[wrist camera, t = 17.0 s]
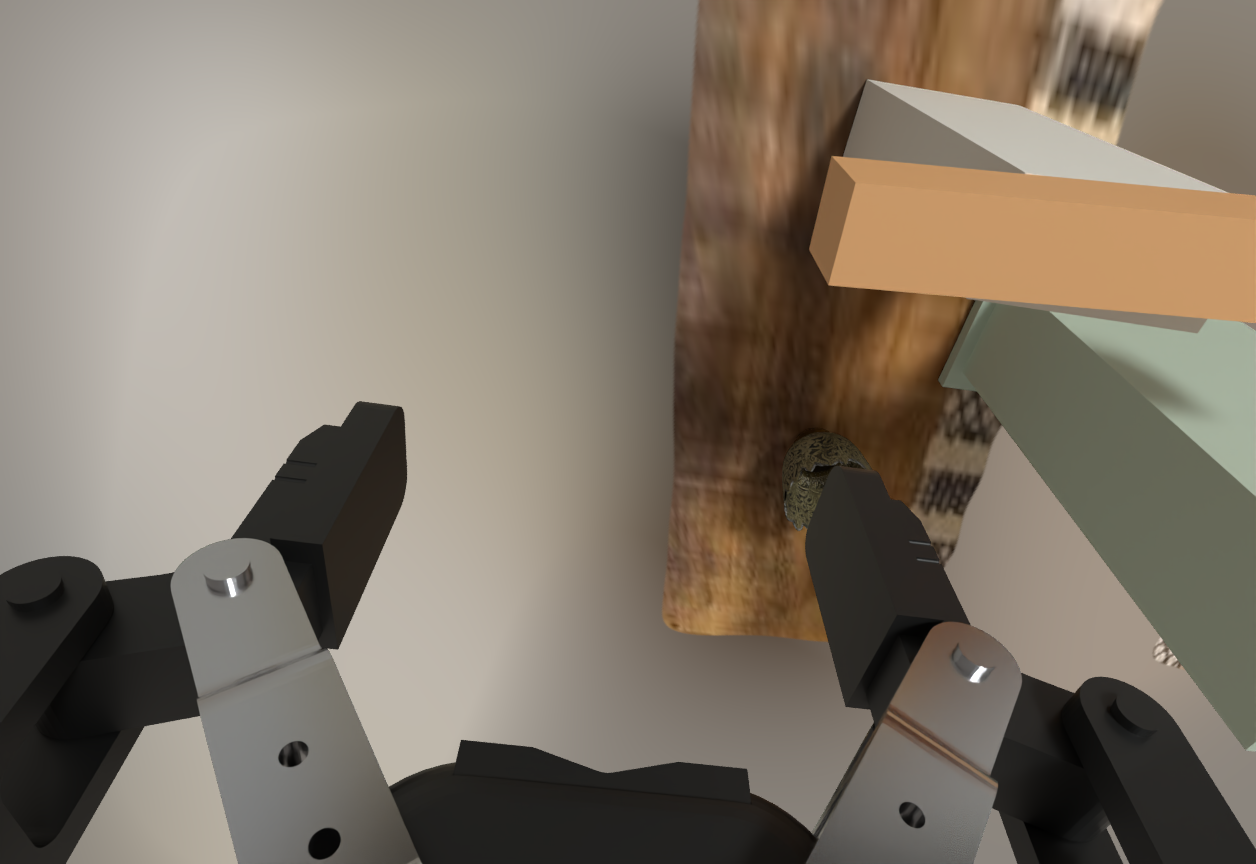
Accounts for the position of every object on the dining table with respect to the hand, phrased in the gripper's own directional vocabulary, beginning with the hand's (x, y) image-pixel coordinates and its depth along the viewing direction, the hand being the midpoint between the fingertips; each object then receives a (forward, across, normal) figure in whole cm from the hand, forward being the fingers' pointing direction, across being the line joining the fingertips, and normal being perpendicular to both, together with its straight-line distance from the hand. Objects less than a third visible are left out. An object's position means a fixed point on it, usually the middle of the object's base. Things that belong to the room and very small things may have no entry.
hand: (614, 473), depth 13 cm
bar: (+16, -20, -2) cm, 26 cm away
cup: (+38, -19, +24) cm, 49 cm away
